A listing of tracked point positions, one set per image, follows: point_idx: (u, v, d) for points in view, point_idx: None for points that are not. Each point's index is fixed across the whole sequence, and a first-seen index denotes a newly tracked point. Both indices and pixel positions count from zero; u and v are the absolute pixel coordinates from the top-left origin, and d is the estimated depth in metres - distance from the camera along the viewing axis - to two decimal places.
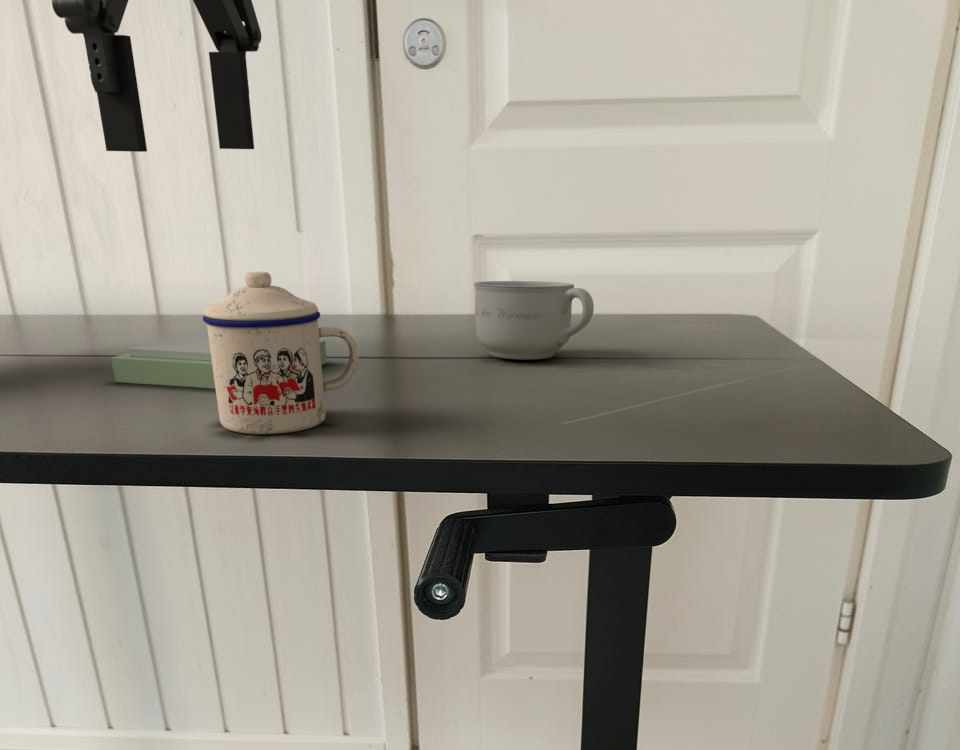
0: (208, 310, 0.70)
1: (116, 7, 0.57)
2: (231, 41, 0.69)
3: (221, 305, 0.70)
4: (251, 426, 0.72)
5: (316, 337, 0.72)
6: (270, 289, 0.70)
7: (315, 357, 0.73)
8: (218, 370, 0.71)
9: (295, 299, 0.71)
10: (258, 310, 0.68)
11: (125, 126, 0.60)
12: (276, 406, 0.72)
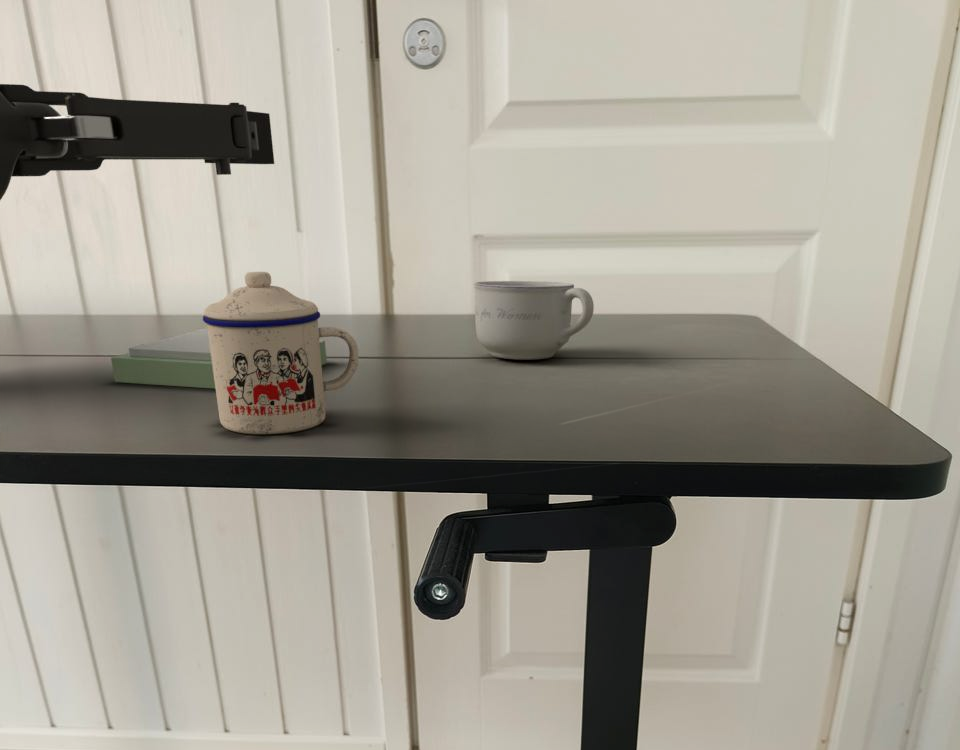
0: (208, 310, 0.70)
1: None
2: None
3: (221, 305, 0.70)
4: (251, 426, 0.72)
5: (316, 337, 0.72)
6: (270, 289, 0.70)
7: (315, 357, 0.73)
8: (218, 370, 0.71)
9: (295, 299, 0.71)
10: (258, 310, 0.68)
11: None
12: (276, 407, 0.72)
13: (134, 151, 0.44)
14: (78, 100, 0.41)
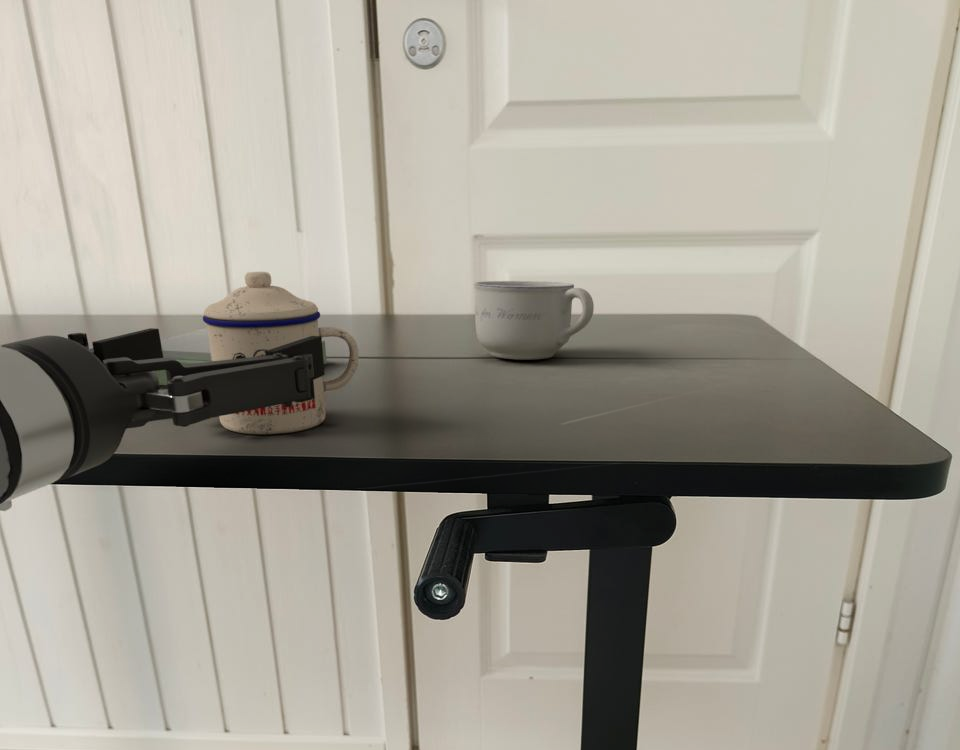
0: (208, 310, 0.70)
1: None
2: None
3: (221, 305, 0.70)
4: (251, 426, 0.72)
5: None
6: (270, 289, 0.70)
7: None
8: None
9: (295, 299, 0.71)
10: (258, 310, 0.68)
11: None
12: (276, 406, 0.72)
13: (219, 411, 0.54)
14: (177, 385, 0.51)
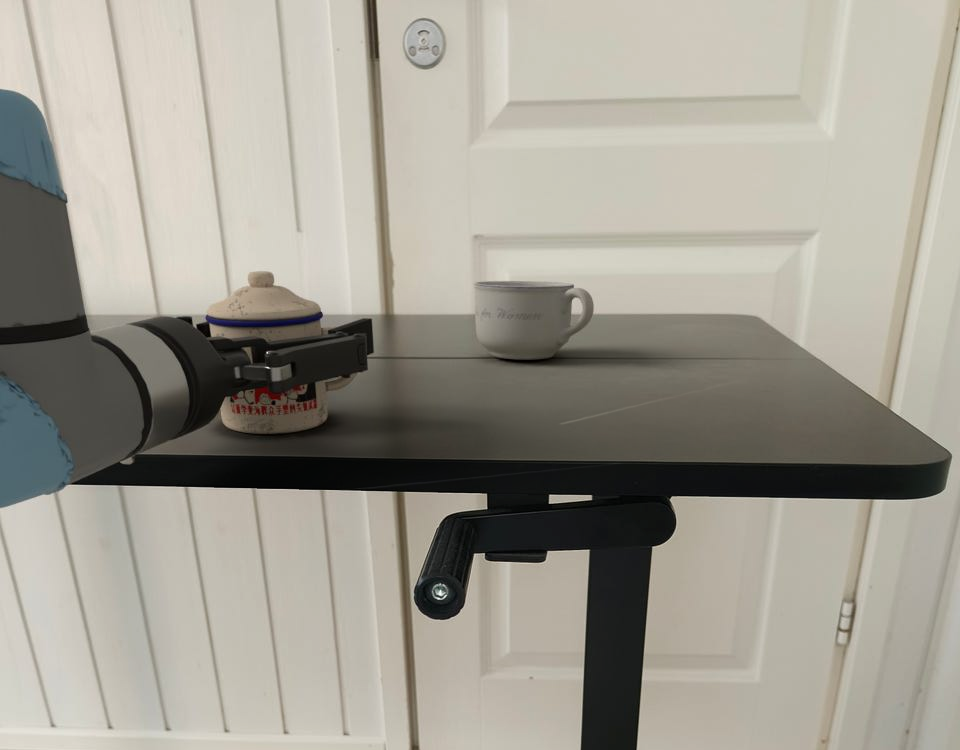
0: (210, 309, 0.70)
1: None
2: None
3: (223, 304, 0.70)
4: (252, 426, 0.72)
5: None
6: (273, 289, 0.70)
7: None
8: None
9: (298, 299, 0.71)
10: (260, 310, 0.68)
11: None
12: (277, 406, 0.72)
13: (302, 381, 0.64)
14: (275, 358, 0.61)
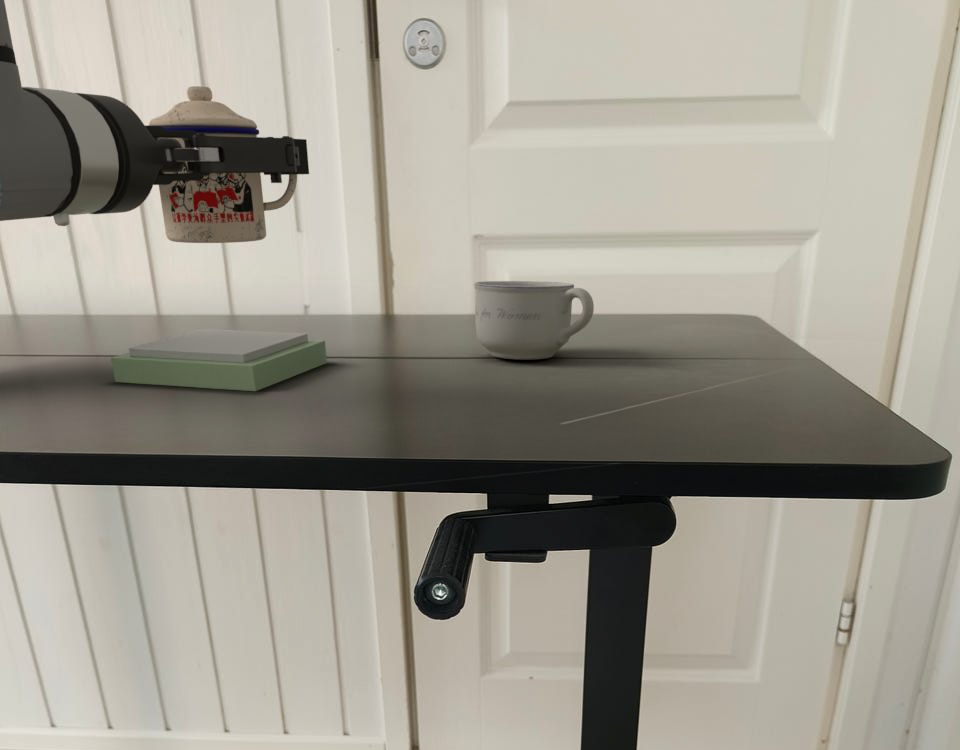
0: (152, 120, 0.75)
1: None
2: None
3: (164, 115, 0.75)
4: (192, 234, 0.77)
5: None
6: (210, 102, 0.75)
7: None
8: None
9: (234, 113, 0.76)
10: (196, 117, 0.73)
11: None
12: (215, 214, 0.77)
13: (230, 169, 0.69)
14: (202, 138, 0.66)
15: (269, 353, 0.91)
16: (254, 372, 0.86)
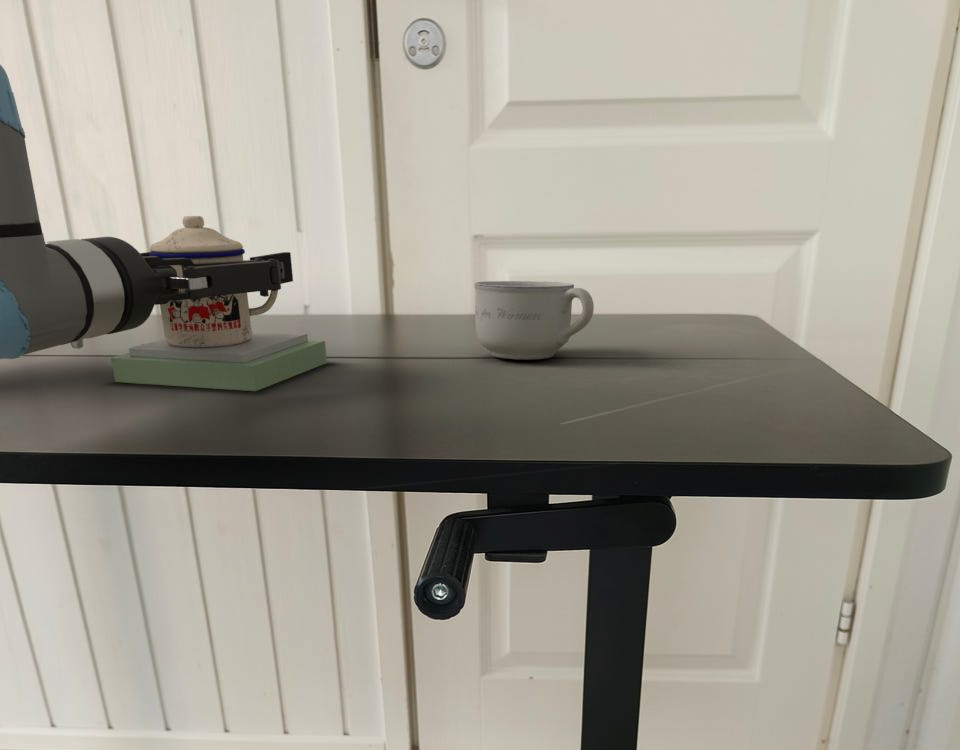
0: (152, 246, 0.88)
1: None
2: None
3: (162, 241, 0.87)
4: (187, 340, 0.90)
5: None
6: (202, 229, 0.88)
7: None
8: None
9: (223, 238, 0.89)
10: (190, 245, 0.86)
11: None
12: (207, 324, 0.89)
13: (218, 292, 0.81)
14: (190, 270, 0.78)
15: (269, 353, 0.91)
16: (254, 372, 0.86)
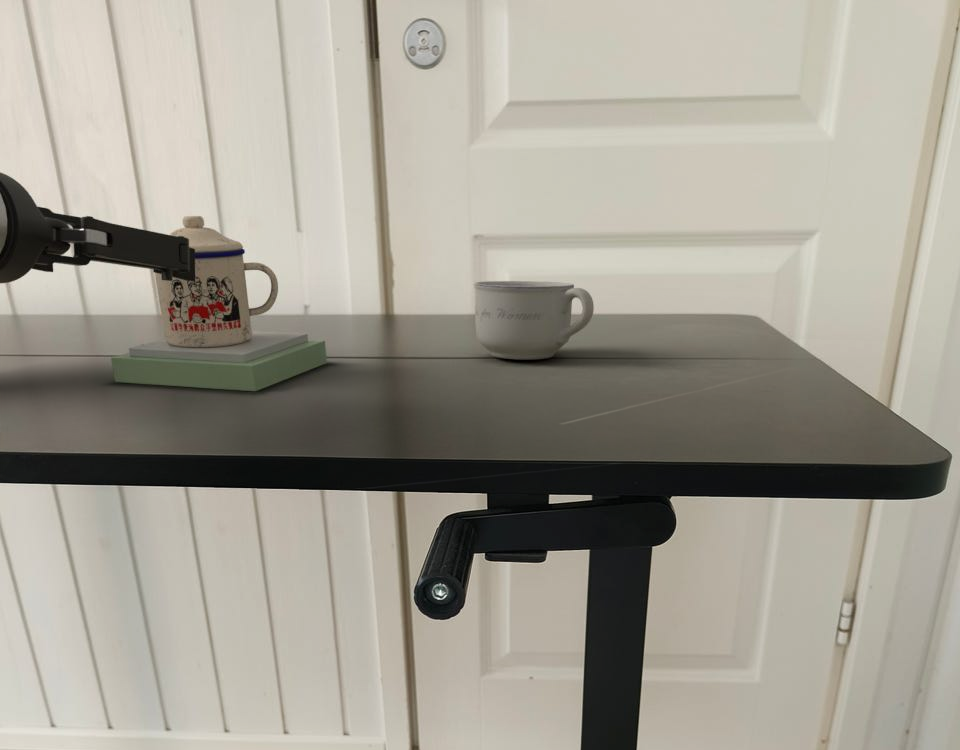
0: None
1: None
2: None
3: None
4: (187, 340, 0.90)
5: (241, 269, 0.90)
6: (202, 229, 0.88)
7: (240, 285, 0.90)
8: (161, 295, 0.89)
9: (223, 238, 0.89)
10: (190, 245, 0.86)
11: None
12: (207, 324, 0.89)
13: (118, 255, 0.69)
14: (90, 220, 0.66)
15: (269, 353, 0.91)
16: (254, 372, 0.86)
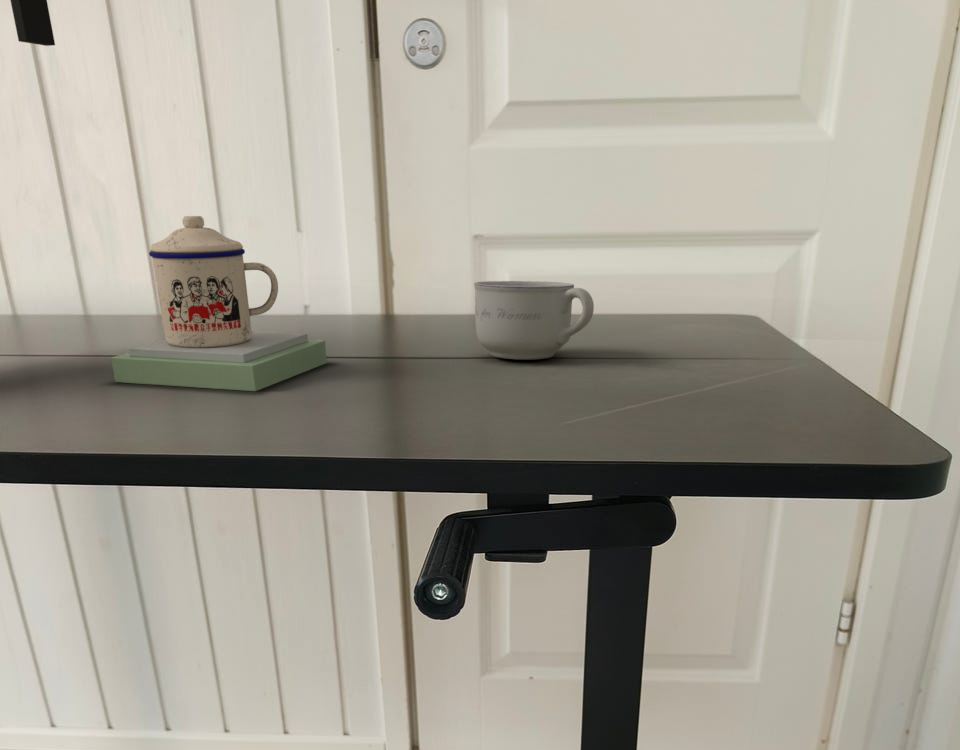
0: (152, 246, 0.88)
1: None
2: None
3: (162, 241, 0.87)
4: (187, 340, 0.90)
5: (241, 269, 0.90)
6: (202, 229, 0.88)
7: (240, 285, 0.90)
8: (161, 295, 0.89)
9: (223, 238, 0.89)
10: (190, 245, 0.86)
11: None
12: (207, 324, 0.89)
13: None
14: None
15: (269, 353, 0.91)
16: (254, 372, 0.86)
